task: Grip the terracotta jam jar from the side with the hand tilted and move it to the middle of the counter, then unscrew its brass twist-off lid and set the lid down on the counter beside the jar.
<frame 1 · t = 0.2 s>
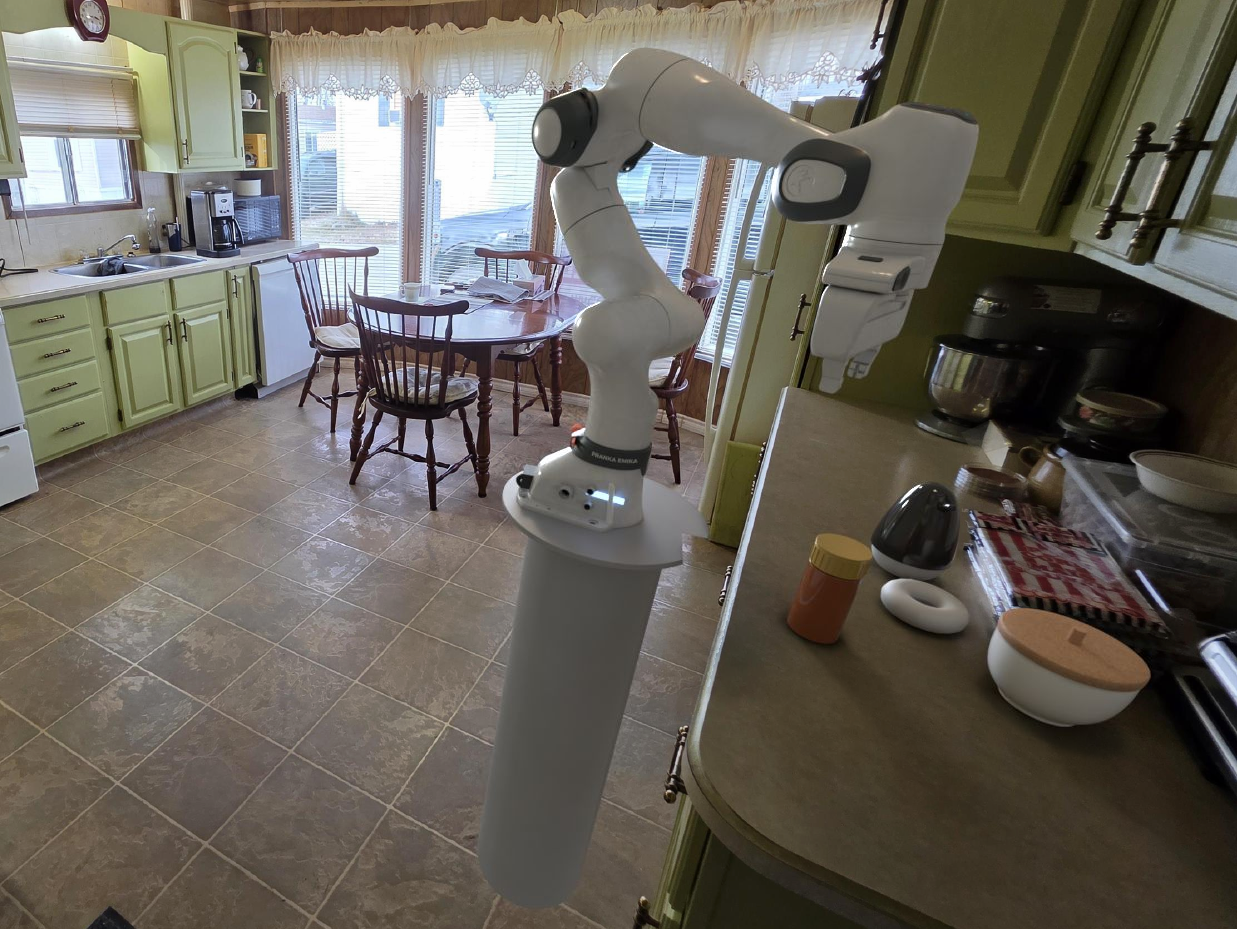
hand: (842, 383, 80), 33 cm above the countertop, tool pointing down, fingers open, 8 cm apart
glossy black oval piece: (901, 571, 105), on the countertop
lidded bowl: (1035, 703, 80), on the countertop
donut: (918, 615, 95), on the countertop
jar: (812, 628, 91), on the countertop
lid: (843, 549, 85), point 13 cm above the countertop, screwed on, not yet turned
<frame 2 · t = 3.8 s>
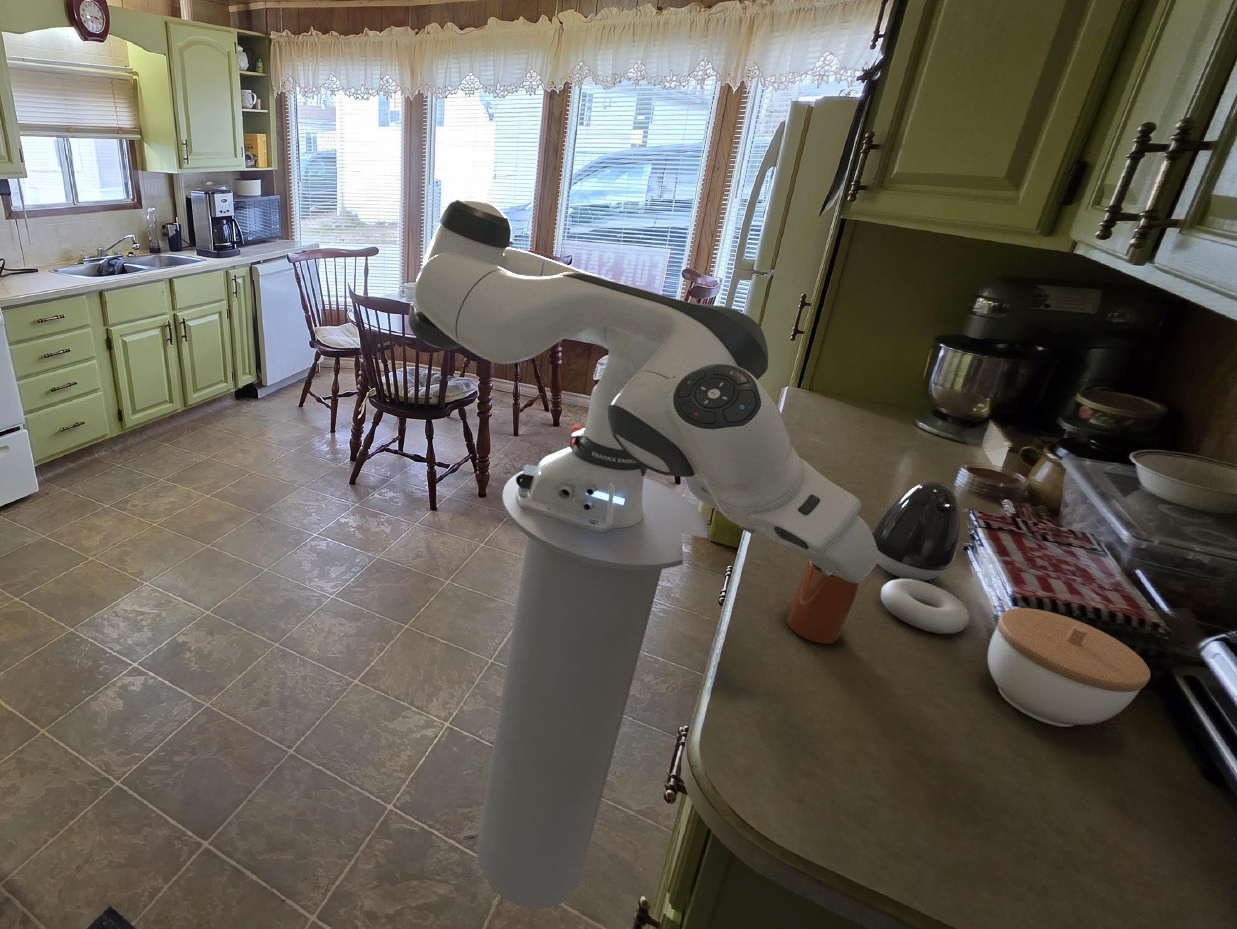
hand: (787, 546, 78), 16 cm above the countertop, tool tilted 45°, fingers open, 8 cm apart
nothing on the countertop moved.
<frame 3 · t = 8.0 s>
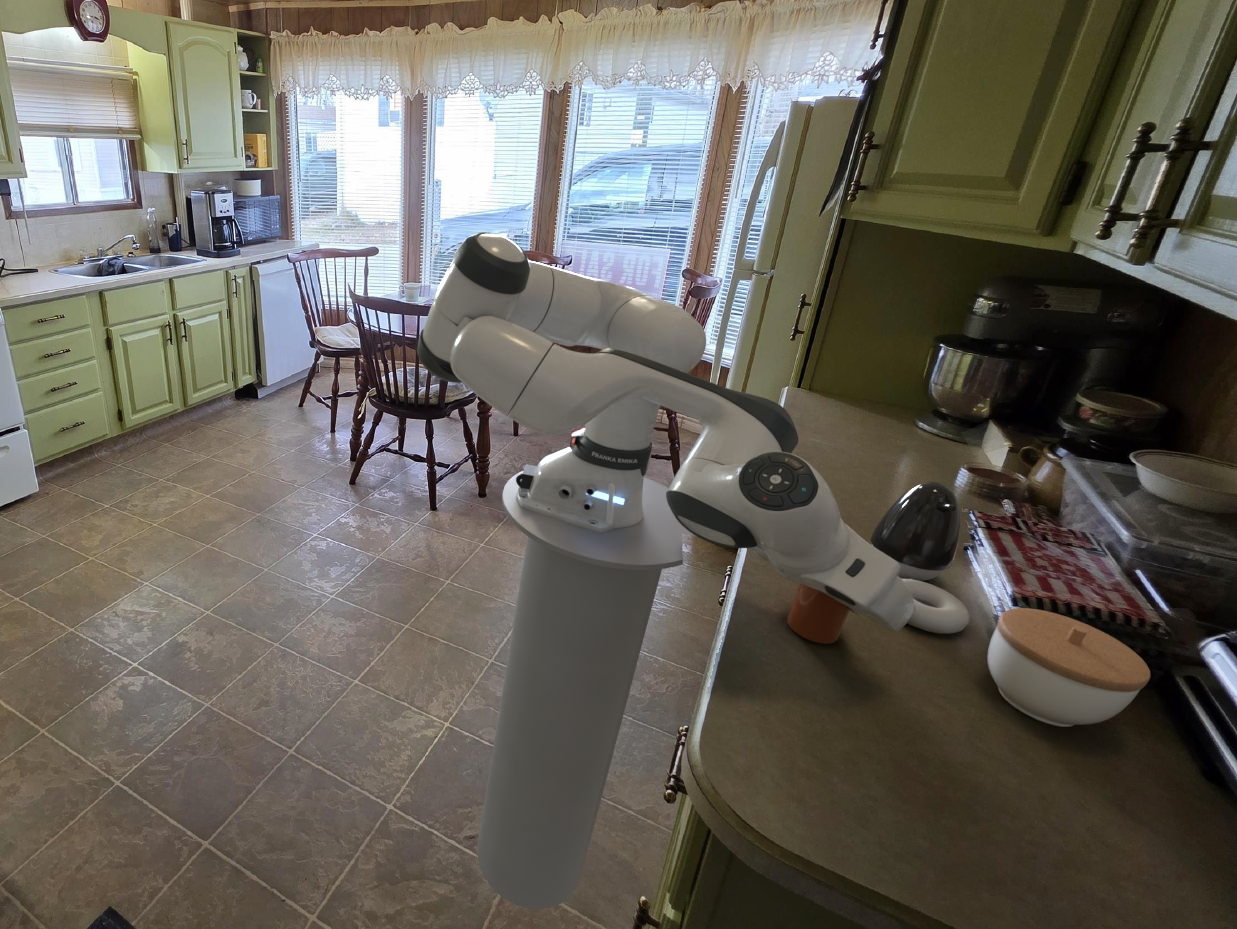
hand: (828, 591, 88), 6 cm above the countertop, tool tilted 45°, fingers closed on jar, 6 cm apart
jar: (812, 628, 91), on the countertop, touching gripper
everything else where it was.
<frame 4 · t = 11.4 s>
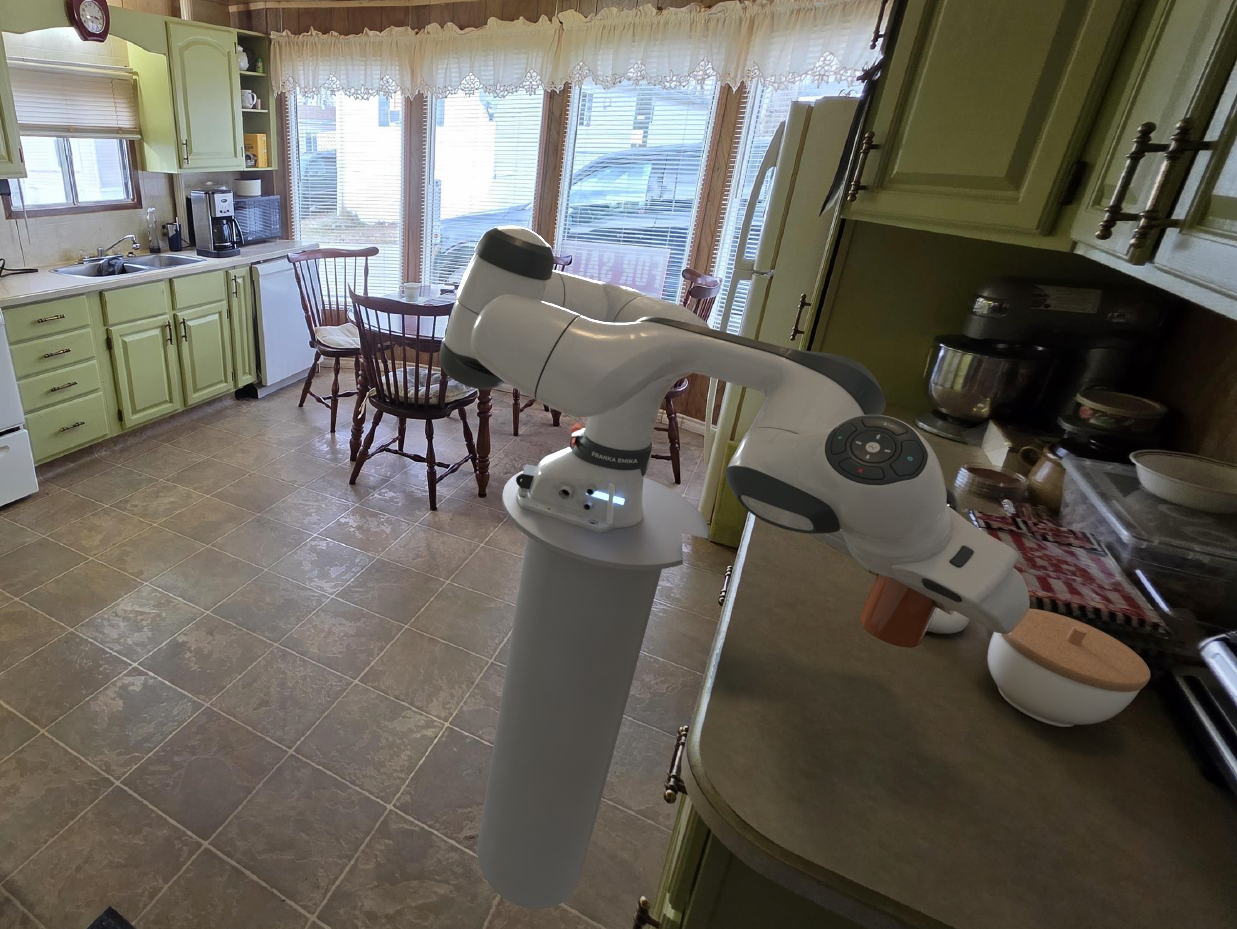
hand: (911, 587, 76), 14 cm above the countertop, tool tilted 45°, fingers closed on jar, 6 cm apart
jar: (889, 629, 78), point 8 cm above the countertop, touching gripper
lid: (931, 536, 73), point 21 cm above the countertop, screwed on, not yet turned
everything else where it was.
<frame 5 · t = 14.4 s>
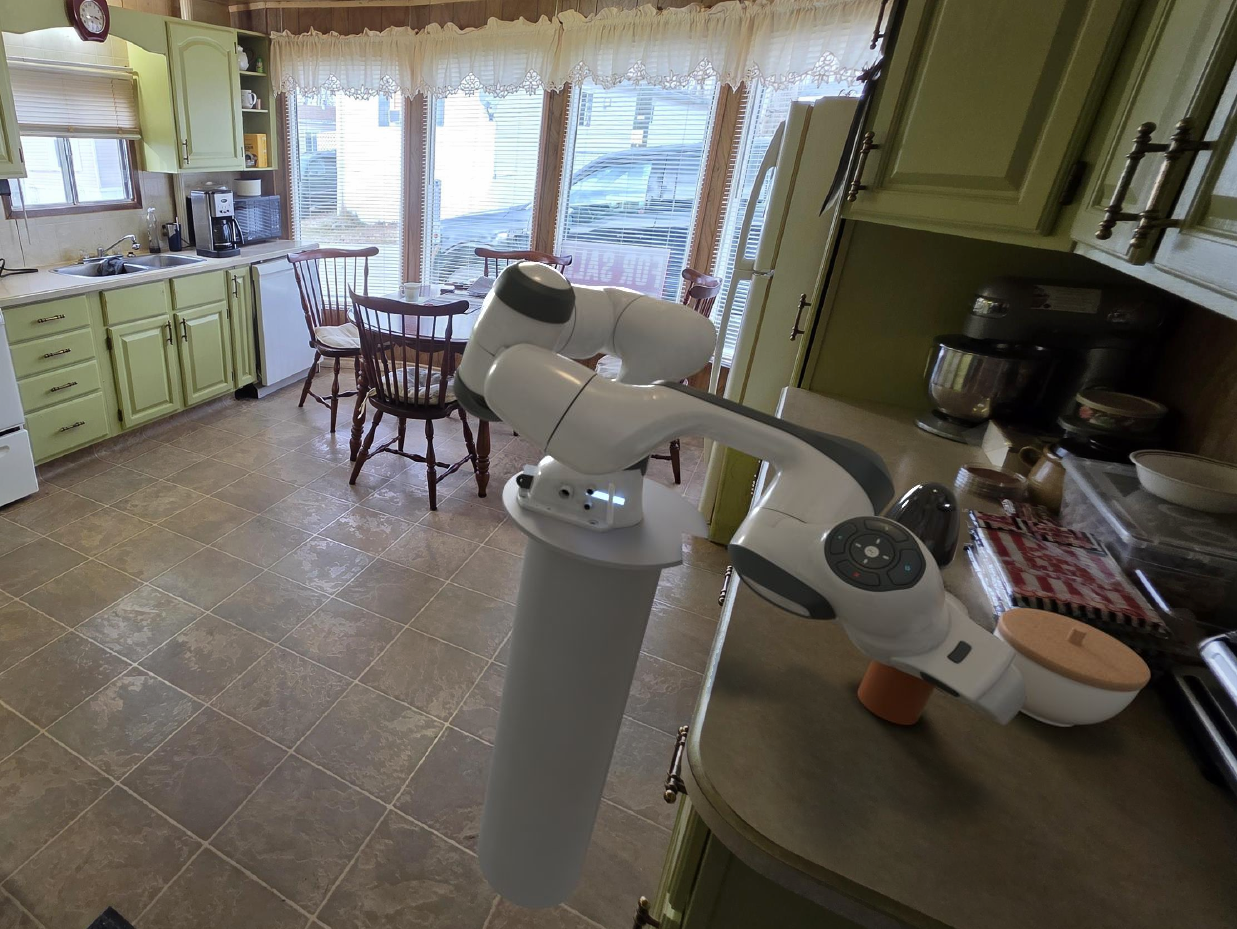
hand: (909, 664, 76), 6 cm above the countertop, tool tilted 45°, fingers closed on jar, 6 cm apart
jar: (887, 704, 79), on the countertop, touching gripper
lid: (929, 617, 73), point 13 cm above the countertop, screwed on, not yet turned
everything else where it was.
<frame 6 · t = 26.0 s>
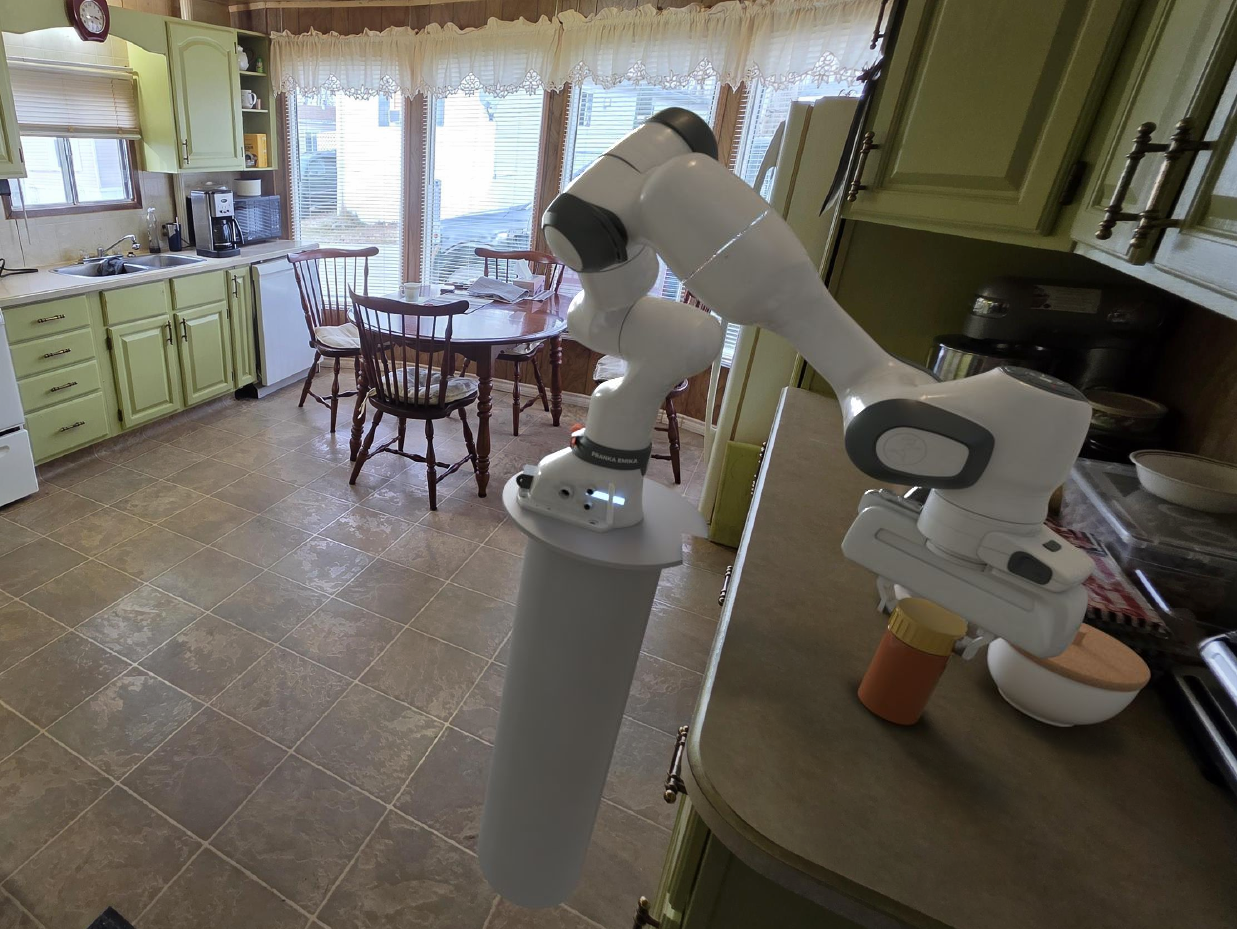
hand: (923, 633, 74), 11 cm above the countertop, tool pointing down, fingers closed on lid, 6 cm apart
jar: (887, 704, 79), on the countertop
lid: (930, 617, 73), point 13 cm above the countertop, screwed on, not yet turned, touching gripper
everything else where it was.
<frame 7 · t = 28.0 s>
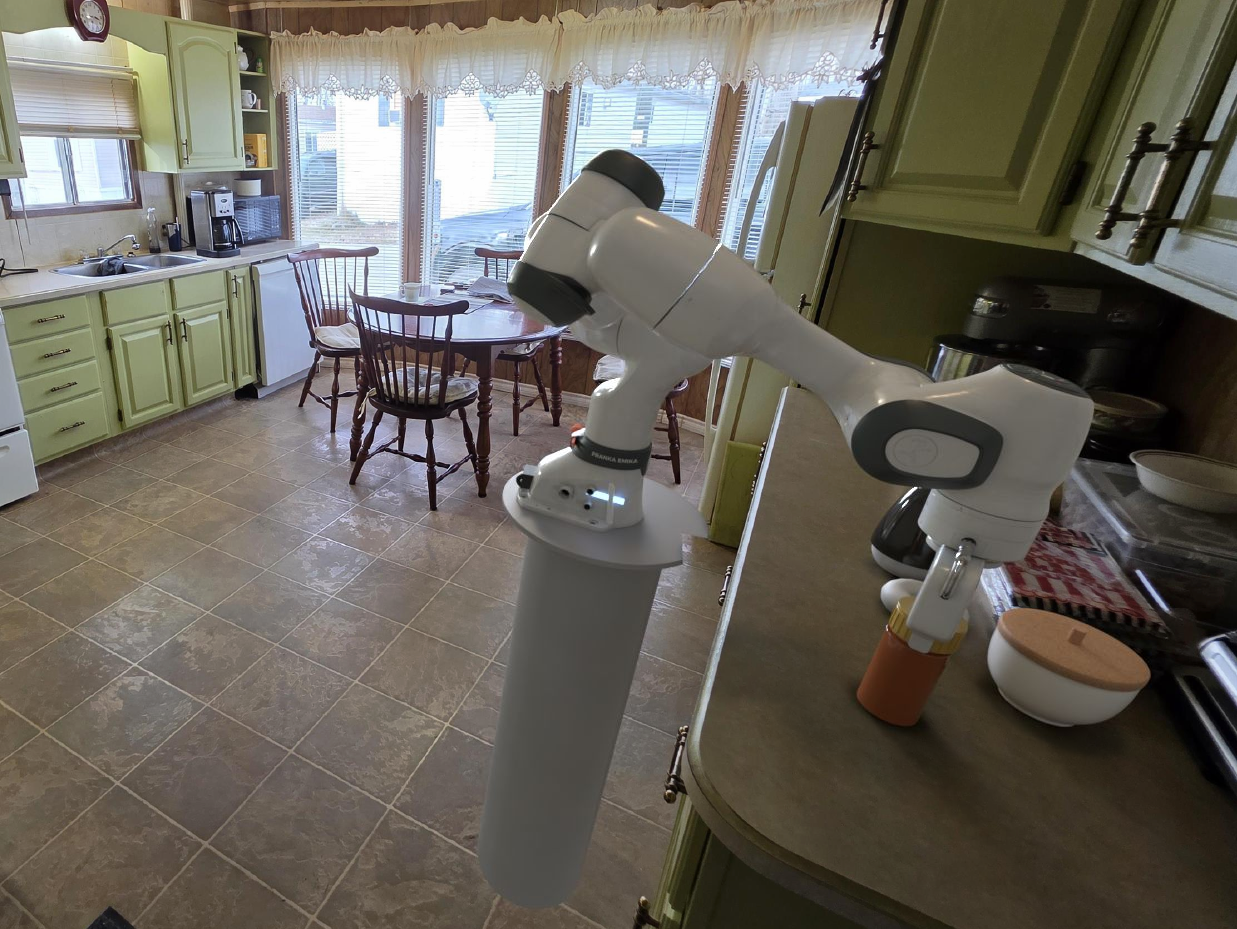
hand: (924, 631, 74), 11 cm above the countertop, tool pointing down, fingers closed on lid, 6 cm apart
jar: (886, 705, 78), on the countertop, touching lid
lid: (931, 616, 73), point 13 cm above the countertop, off its thread, touching gripper, jar
everything else where it was.
when the fingers open (0 cm above the countertop, at t = 38.8 s): lid stays where it is, point 2 cm above the countertop.
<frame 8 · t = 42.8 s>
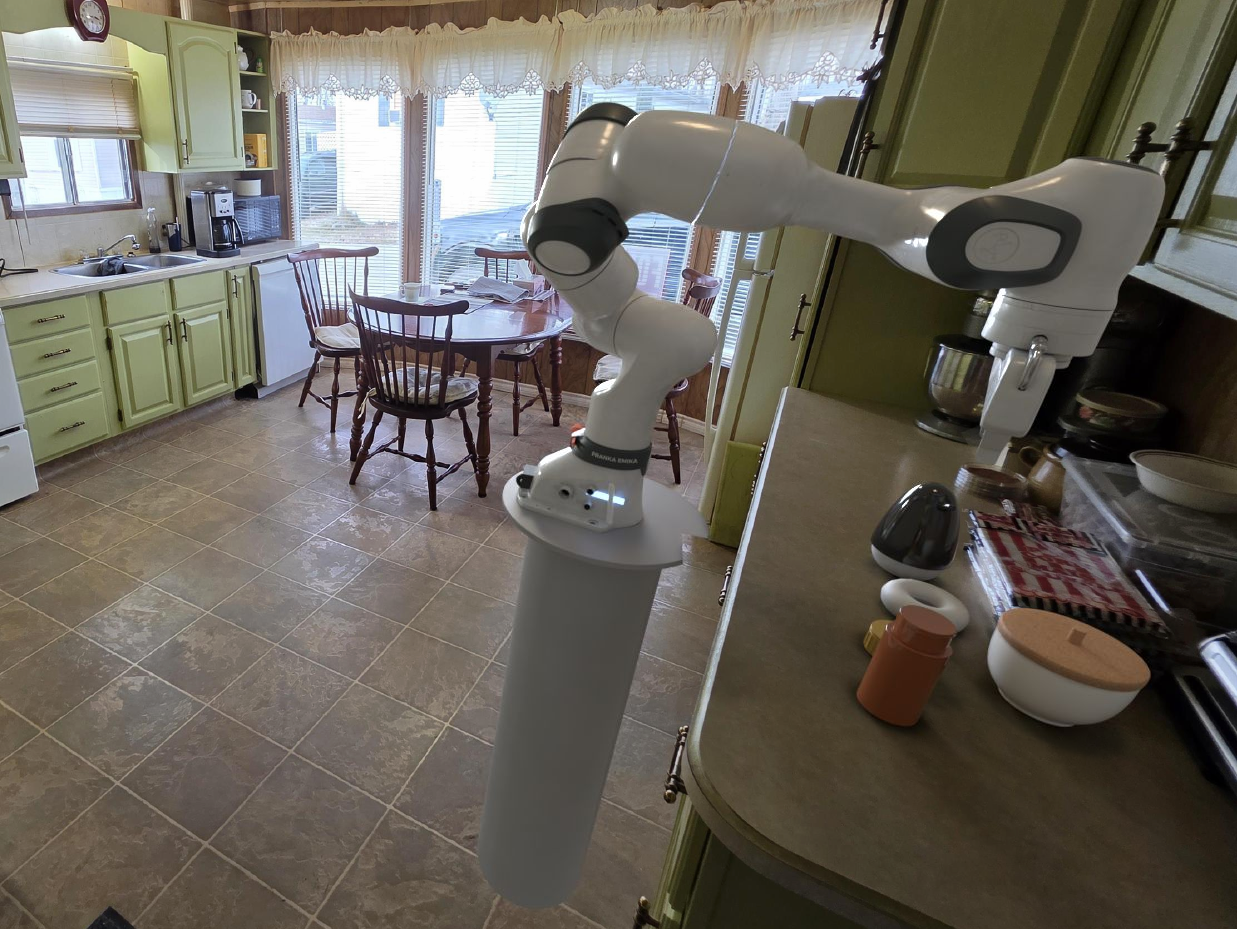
hand: (985, 449, 75), 29 cm above the countertop, tool pointing down, fingers open, 8 cm apart
jar: (886, 705, 78), on the countertop
lid: (898, 638, 86), point 2 cm above the countertop, off its thread
everything else where it was.
at the end: jar inside the target area (0.4 cm from its centre), on the countertop; lid point 2.5 cm above the countertop; the gripper is holding nothing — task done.
